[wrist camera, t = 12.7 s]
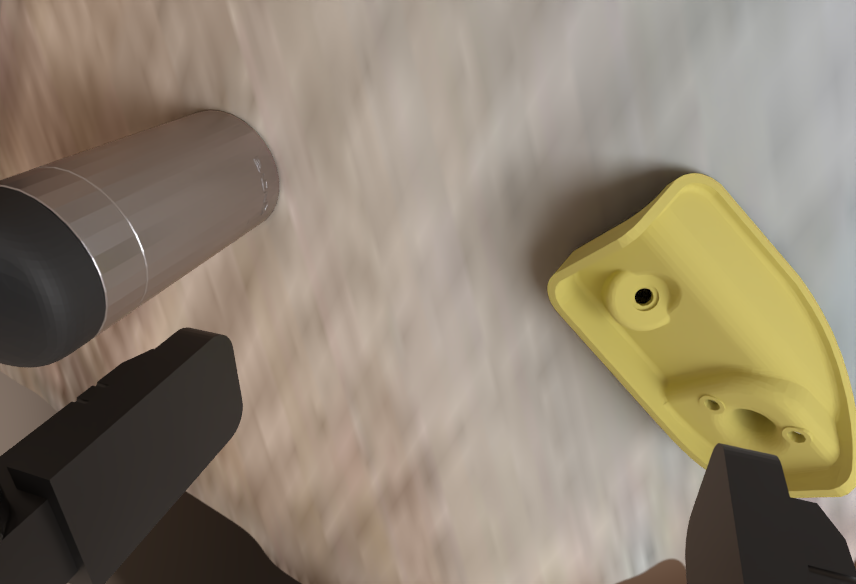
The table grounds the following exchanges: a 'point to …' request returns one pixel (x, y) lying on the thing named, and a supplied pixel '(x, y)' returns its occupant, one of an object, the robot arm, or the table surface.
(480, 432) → the table surface
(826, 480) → the plastic component
